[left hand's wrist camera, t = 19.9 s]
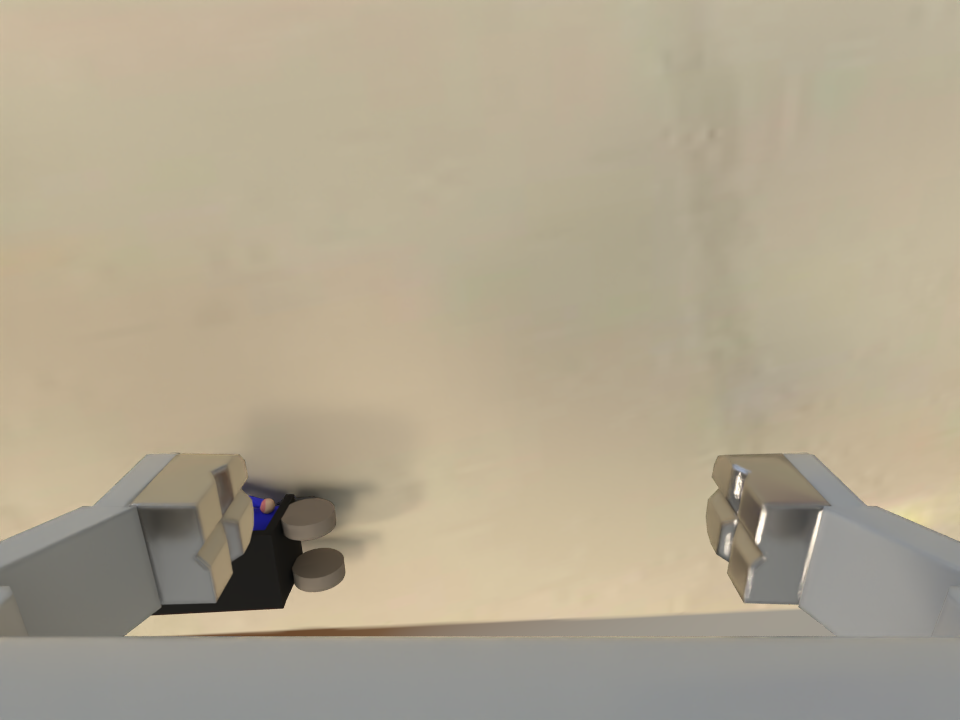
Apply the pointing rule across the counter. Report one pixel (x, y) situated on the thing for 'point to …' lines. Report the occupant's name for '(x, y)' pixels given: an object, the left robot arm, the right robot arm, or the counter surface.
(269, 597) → the figurine character
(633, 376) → the counter surface
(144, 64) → the counter surface
